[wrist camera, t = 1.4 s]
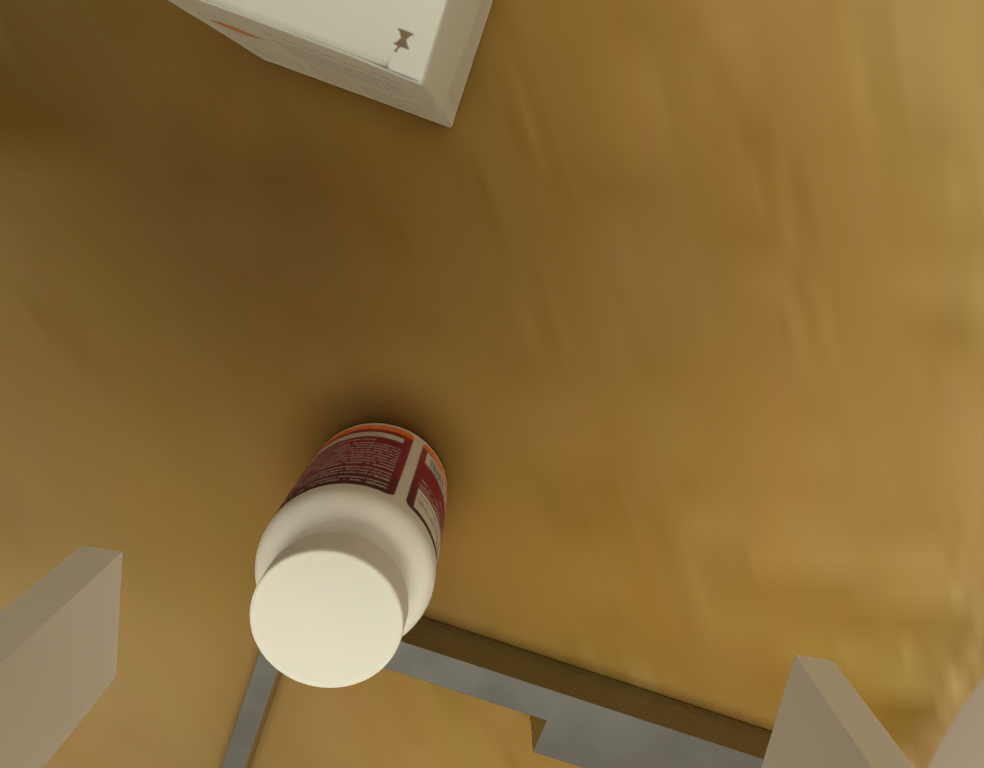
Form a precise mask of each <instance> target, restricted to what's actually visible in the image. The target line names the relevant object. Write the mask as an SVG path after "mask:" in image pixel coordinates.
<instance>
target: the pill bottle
mask: <svg viewBox="0 0 984 768" xmlns="http://www.w3.org/2000/svg"><path fill="white" fill-rule="evenodd" d="M446 506H447V480H446V475H445V472H444V469H443V466H442V464H441V462H440V460H439V458H438V456H437V455H436V453H435V452H434V451H433V450H432V448H431V447H430V446H429V445H428V444H427V443H426V442H425V441H424V440H422V439H421V438H420V437H418V436H417V435H416V434H414V433H412V432H410V431H409V430H406V429H404V428H401V427H398V426H394V425H390V424H384V423H366V424H361V425H356V426H353V427H350V428H348V429H346V430H343V431H342V432H340V433H338V434H336V435H335V436H334V437H332V438H331V439H330V440H329V441H328V442H327V443H326V444H325V445H324V446H323V447H322V448H321V449H320V450H319V452H318V453H317V454H316V455H315V457H314V459H313V460H312V462H311V463H310V465H309V466H308V467H307V469H306V470H305V472H304V473H303V475H302V476H301V478H300V479H299V480H298V482H297V483H296V485H295V486H294V487H293V489H292V490H291V492H290V493H289V495H288V496H287V498H286V499H285V501H284V502H283V504H282V505H281V507H280V508H279V510H278V511H277V512H276V514H275V515H274V516H273V518H272V520H271V521H270V523H269V525H268V526H267V528H266V530H265V532H264V533H263V535H262V538H261V541H260V543H259V546H258V549H257V553H256V560H255V579H256V588H255V591H254V594H253V596H252V601H251V605H250V625H251V629H252V634H253V637H254V639H255V642H256V644H257V646H258V647H259V649H260V651H261V653H262V654H263V655H264V657H265V658H266V659H267V660H268V661H269V662H270V663H271V664H272V665H273V666H274V667H275V668H276V669H277V670H279V671H280V672H282V673H283V674H285V675H286V676H288V677H289V678H291V679H293V680H296V681H298V682H301V683H304V684H307V685H311V686H316V687H323V688H334V687H344V686H349V685H353V684H356V683H359V682H361V681H364V680H366V679H368V678H370V677H372V676H373V675H375V674H376V673H377V672H379V671H380V670H381V669H382V668H383V667H385V666H386V664H387V663H388V662H389V661H390V660H391V658H392V657H393V655H394V654H395V652H396V650H397V648H398V646H399V644H400V641H401V638H402V636H404V635H405V634H406V633H407V632H408V631H409V630H411V629H412V628H413V626H414V625H415V624H416V623H417V622H418V621H419V619H420V618H421V616H422V615H423V613H424V611H425V610H426V608H427V606H428V604H429V601H430V599H431V596H432V593H433V588H434V584H435V578H436V573H437V565H438V559H439V552H440V545H441V539H442V532H443V526H444V519H445V513H446Z"/></svg>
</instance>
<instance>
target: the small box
mask: <svg viewBox="0 0 984 768" xmlns="http://www.w3.org/2000/svg"><path fill="white" fill-rule="evenodd" d="M168 1H170V2H172V3H173V4H175V5H177V6H178V7H180V8H181V9H183V10H185V11H186V12H188V13H189V14H191V15H193V16H194V17H196V18H198V19H199V20H201V21H202V22H204V23H206V24H207V25H209V26H211V27H212V28H214V29H215V30H217V31H219V32H220V33H222V34H223V35H225V36H227V37H228V38H230V39H231V40H233V41H235V42H236V43H238V44H239V45H241V46H243V47H244V48H246V49H247V50H249V51H250V52H252V53H254V54H255V55H257V56H258V57H260V58H262V59H263V60H265V61H268V62H271V63H274V64H277V65H280V66H282V67H285V68H288V69H291V70H293V71H296V72H299V73H302V74H304V75H307V76H310V77H313V78H315V79H318V80H321V81H323V82H326V83H329V84H332V85H334V86H337V87H340V88H343V89H345V90H348V91H351V92H354V93H356V94H359V95H362V96H365V97H367V98H370V99H373V100H376V101H378V102H381V103H384V104H387V105H389V106H392V107H395V108H398V109H400V110H403V111H406V112H409V113H411V114H414V115H417V116H419V117H422V118H425V119H427V120H430V121H433V122H435V123H438V124H440V125H443V126H445V127H448V128H450V127H452V126H453V123H454V119H455V116H456V113H457V109H458V106H459V103H460V100H461V97H462V94H463V91H464V88H465V85H466V82H467V79H468V76H469V73H470V70H471V67H472V64H473V61H474V58H475V55H476V51H477V48H478V45H479V42H480V39H481V36H482V33H483V30H484V27H485V24H486V21H487V18H488V15H489V12H490V8H491V5H492V2H493V0H168Z"/></svg>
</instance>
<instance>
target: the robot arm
mask: <svg viewBox="0 0 984 768" xmlns="http://www.w3.org/2000/svg"><path fill="white" fill-rule="evenodd" d="M122 554H123V552H122V551H115V550H109V549H102V548H96V547H89V546H83V545H82V546H81V547H79V548H78V549H77V550H76V551H74V552H73V553H72V554H71V555H69V556H68V557H67V558H66V559H65V560H63V561H62V562H61V563H60V564H58V565H57V566H56V567H55V568H54V569H52V570H51V571H50V572H49V573H47V574H46V575H45V576H44V577H43V578H41V579H40V580H39V581H38V582H36V583H35V584H34V585H33V586H32V587H30V588H29V589H28V590H27V591H25V592H24V593H23V594H22V595H21V596H19V597H18V598H17V599H16V600H14V601H13V602H12V603H11V604H10V605H8V606H7V607H6V608H5V609H3V610H2V611H1V612H0V768H43V767H44V766H45V765H46V764H47V762H48V761H49V760H50V759H51V757H52V756H53V755H54V754H55V752H56V751H57V750H58V749H59V747H60V746H61V745H62V744H63V743H64V741H65V740H66V739H67V738H68V736H69V735H70V734H71V733H72V731H73V730H74V729H75V728H76V726H77V725H78V724H79V723H80V721H81V720H82V719H83V718H84V716H85V715H86V714H87V713H88V711H89V710H90V709H91V708H92V707H93V705H94V704H95V703H96V702H97V700H98V699H99V698H100V697H101V695H102V694H103V693H104V692H105V690H106V689H107V688H108V687H109V685H110V684H111V683H112V682H113V680H114V679H115V678H116V665H117V646H118V628H119V610H120V591H121V573H122ZM761 768H914V767H913V766H912V764H911V763H910V762H909V760H908V759H907V758H906V756H905V755H904V754H903V752H902V751H901V750H900V748H899V747H898V746H897V744H896V743H895V742H894V741H893V739H892V738H891V737H890V735H889V734H888V733H887V731H886V730H885V729H884V727H883V726H882V725H881V723H880V722H879V721H878V719H877V718H876V717H875V715H874V714H873V713H872V711H871V710H870V709H869V707H868V706H867V705H866V703H865V702H864V701H863V699H862V698H861V697H860V695H859V694H858V693H857V691H856V690H855V689H854V687H853V686H852V685H851V683H850V682H849V681H848V679H847V678H846V677H845V675H844V674H843V673H842V672H841V670H840V669H839V668H838V666H837V665H836V664H835V662H834V661H833V660H827V659H820V658H814V657H807V656H800V655H795V658H794V661H793V664H792V668H791V671H790V674H789V678H788V681H787V684H786V687H785V691H784V694H783V697H782V701H781V704H780V707H779V711H778V714H777V717H776V720H775V724H774V727H773V730H772V734H771V737H770V740H769V744H768V747H767V750H766V754H765V757H764V760H763V763H762V767H761Z"/></svg>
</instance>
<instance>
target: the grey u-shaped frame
mask: <svg viewBox="0 0 984 768" xmlns="http://www.w3.org/2000/svg"><path fill="white" fill-rule="evenodd" d="M383 668H386V669H389V670H392V671H395V672H398V673H402V674H405V675H408V676H411V677H414V678H417V679H420V680H423V681H426V682H430V683H433V684H436V685H439V686H442V687H445V688H448V689H451V690H454V691H457V692H461V693H464V694H467V695H470V696H473V697H476V698H479V699H482V700H485V701H488V702H492V703H495V704H498V705H501V706H504V707H507V708H510V709H513V710H516V711H520V712H523V713H526V714H529V715H531V729H532V744H533V752H535V753H538V754H541V755H545V756H548V757H551V758H554V759H557V760H560V761H563V762H567V763H570V764H573V765H576V766H579V767H582V768H761V767H762V763H763V760H764V757H765V754H766V750H767V747H768V744H769V740H770V737H771V734H772V731H769V730H766V729H762V728H759V727H756V726H753V725H750V724H747V723H744V722H741V721H738V720H735V719H732V718H729V717H726V716H723V715H720V714H717V713H714V712H711V711H708V710H705V709H702V708H699V707H696V706H693V705H690V704H687V703H683V702H680V701H677V700H674V699H671V698H668V697H665V696H662V695H659V694H656V693H653V692H650V691H647V690H644V689H641V688H638V687H635V686H632V685H629V684H626V683H623V682H620V681H617V680H614V679H611V678H608V677H605V676H601V675H598V674H595V673H592V672H589V671H586V670H583V669H580V668H577V667H574V666H571V665H568V664H565V663H562V662H559V661H556V660H553V659H550V658H547V657H544V656H541V655H538V654H535V653H532V652H529V651H526V650H522V649H519V648H516V647H513V646H510V645H507V644H504V643H501V642H498V641H495V640H492V639H489V638H486V637H483V636H480V635H477V634H474V633H471V632H468V631H465V630H462V629H459V628H456V627H453V626H450V625H447V624H444V623H440V622H437V621H434V620H431V619H428V618H425V617H422V616H421V618H420V619H419V621H418V622H417V623H416V624H415V625H414V626H413V628H412V629H411V630H409V631H408V632H407V633H406V634H405V635H404V636H402V638H401V641H400V644H399V646H398V648H397V650H396V652H395V654H394V655H393V657H392V658H391V660H390V661H389V662H388V663H387V664H386V666H385V667H383ZM280 675H281V672H280V671H279V670H277V669H276V668H275V667H274V666H273V665H272V664H271V663H270V662H269V661H268V660H267V659H266V658H265V657H264V655H263V654H262V653H261V651H260V653H259V656H258V659H257V662H256V665H255V668H254V671H253V674H252V677H251V680H250V683H249V686H248V689H247V692H246V695H245V698H244V701H243V704H242V707H241V710H240V713H239V716H238V720H237V723H236V726H235V729H234V732H233V735H232V738H231V741H230V744H229V747H228V750H227V753H226V756H225V759H224V762H223V765H222V768H249V766H250V764H251V761H252V758H253V755H254V752H255V749H256V746H257V743H258V740H259V737H260V734H261V731H262V728H263V725H264V722H265V719H266V716H267V713H268V710H269V708H270V705H271V702H272V699H273V696H274V693H275V690H276V687H277V684H278V681H279V678H280Z"/></svg>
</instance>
